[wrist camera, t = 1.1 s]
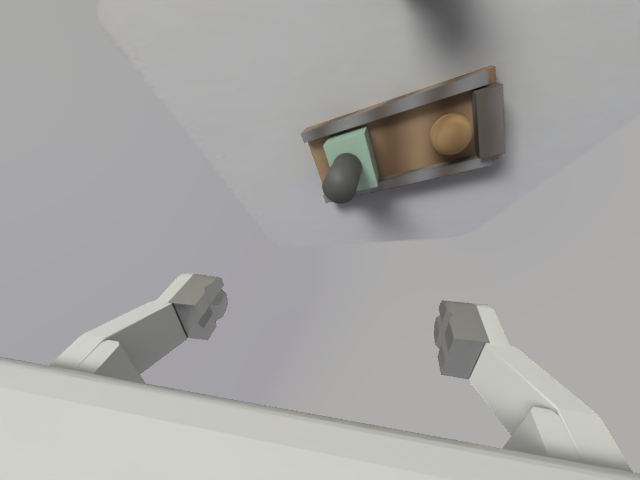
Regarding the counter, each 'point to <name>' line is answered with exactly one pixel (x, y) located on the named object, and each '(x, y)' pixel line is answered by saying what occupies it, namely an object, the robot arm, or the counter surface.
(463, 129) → the walnut
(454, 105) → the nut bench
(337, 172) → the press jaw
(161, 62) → the counter surface
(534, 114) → the counter surface
